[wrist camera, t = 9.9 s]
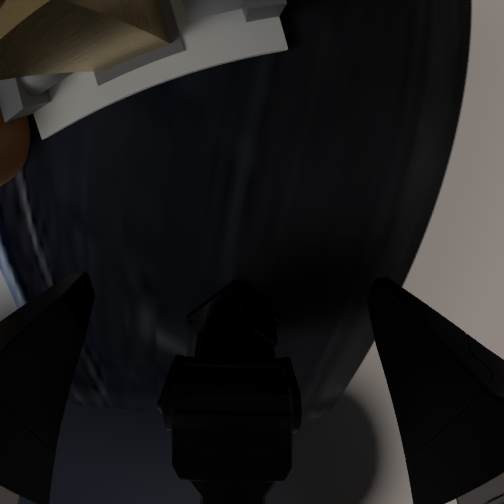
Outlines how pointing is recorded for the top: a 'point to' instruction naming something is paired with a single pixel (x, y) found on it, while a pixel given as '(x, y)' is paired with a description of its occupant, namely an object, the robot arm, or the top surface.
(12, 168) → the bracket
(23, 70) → the gold tall square block
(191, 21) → the plate with raised blocks
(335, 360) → the top surface
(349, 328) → the top surface
